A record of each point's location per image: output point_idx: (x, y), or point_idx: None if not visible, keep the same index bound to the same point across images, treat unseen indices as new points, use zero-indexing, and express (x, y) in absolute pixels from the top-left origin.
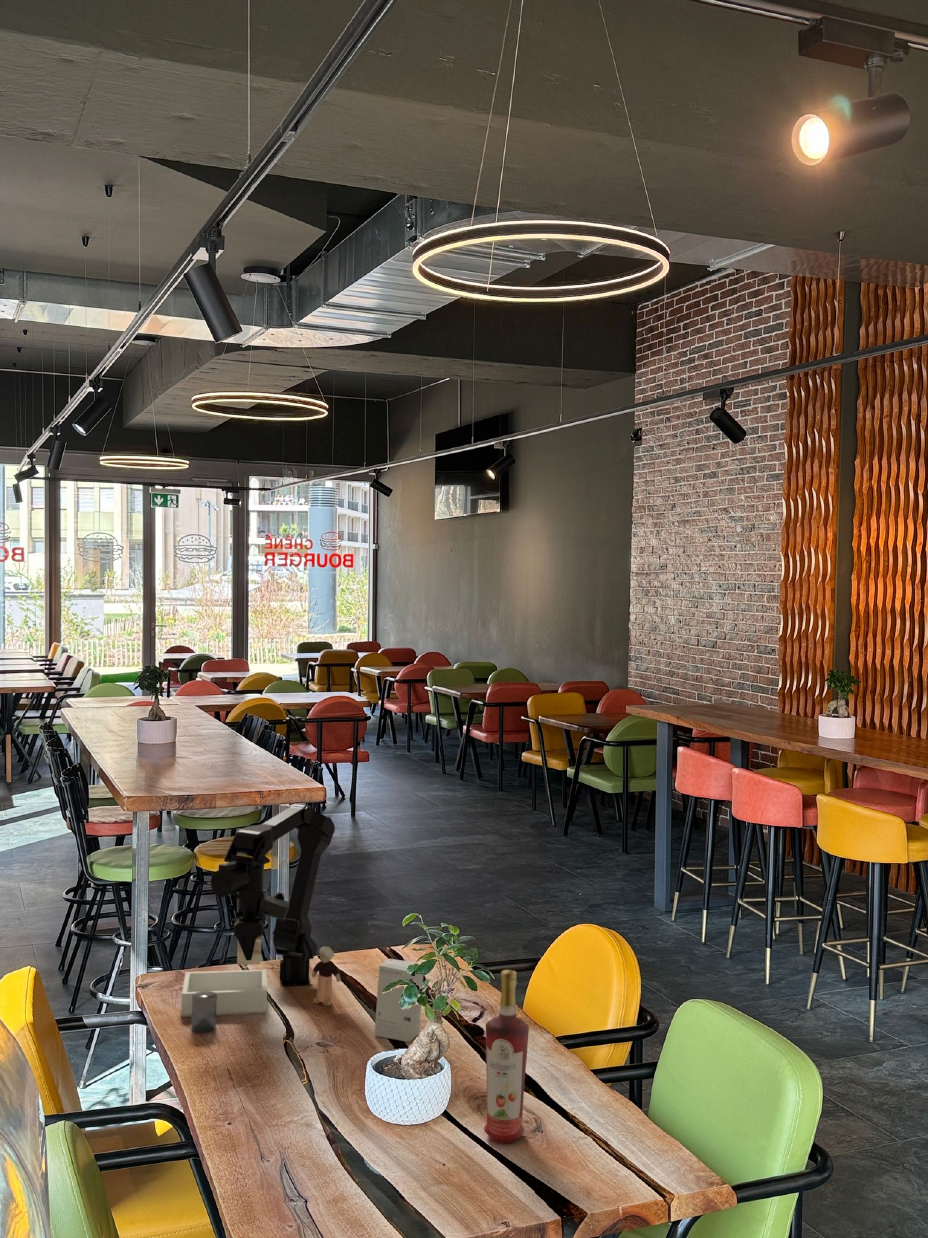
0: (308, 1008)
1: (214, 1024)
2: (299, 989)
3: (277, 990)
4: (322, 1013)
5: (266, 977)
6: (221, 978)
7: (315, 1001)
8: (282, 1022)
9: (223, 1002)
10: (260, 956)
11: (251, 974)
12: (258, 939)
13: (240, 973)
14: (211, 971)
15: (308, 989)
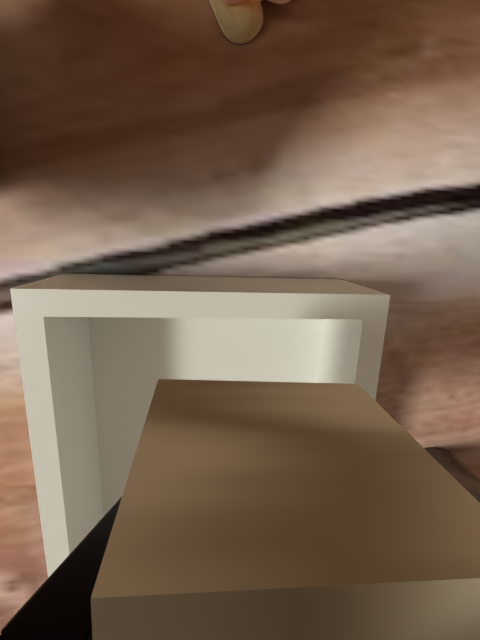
0: (313, 79)
1: (460, 463)
2: (39, 95)
3: (53, 215)
4: (390, 13)
5: (170, 291)
6: (78, 499)
7: (259, 24)
8: (443, 218)
9: None
10: (366, 416)
11: (57, 369)
12: (413, 624)
13: (60, 430)
14: (48, 568)
15: (39, 40)
